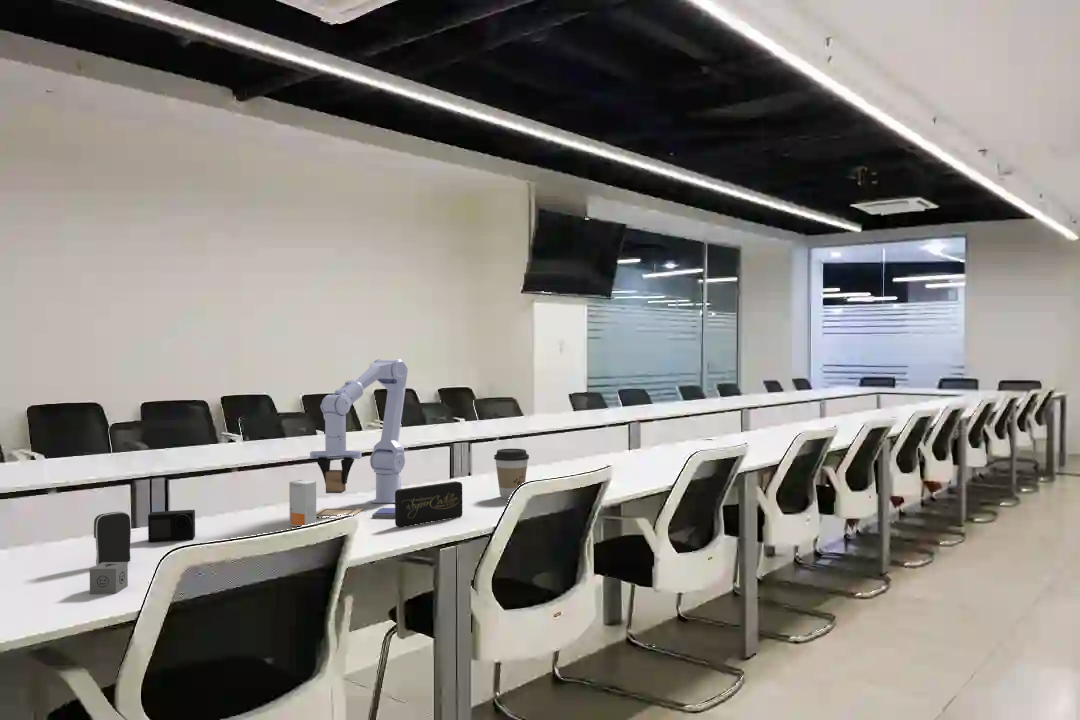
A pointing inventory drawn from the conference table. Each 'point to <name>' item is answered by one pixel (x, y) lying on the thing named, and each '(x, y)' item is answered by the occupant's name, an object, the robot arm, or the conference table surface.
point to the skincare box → (302, 502)
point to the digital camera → (171, 526)
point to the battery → (112, 537)
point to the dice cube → (108, 577)
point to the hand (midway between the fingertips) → (336, 483)
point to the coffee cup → (510, 469)
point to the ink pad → (384, 513)
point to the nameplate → (428, 503)
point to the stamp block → (334, 482)
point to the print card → (336, 511)
